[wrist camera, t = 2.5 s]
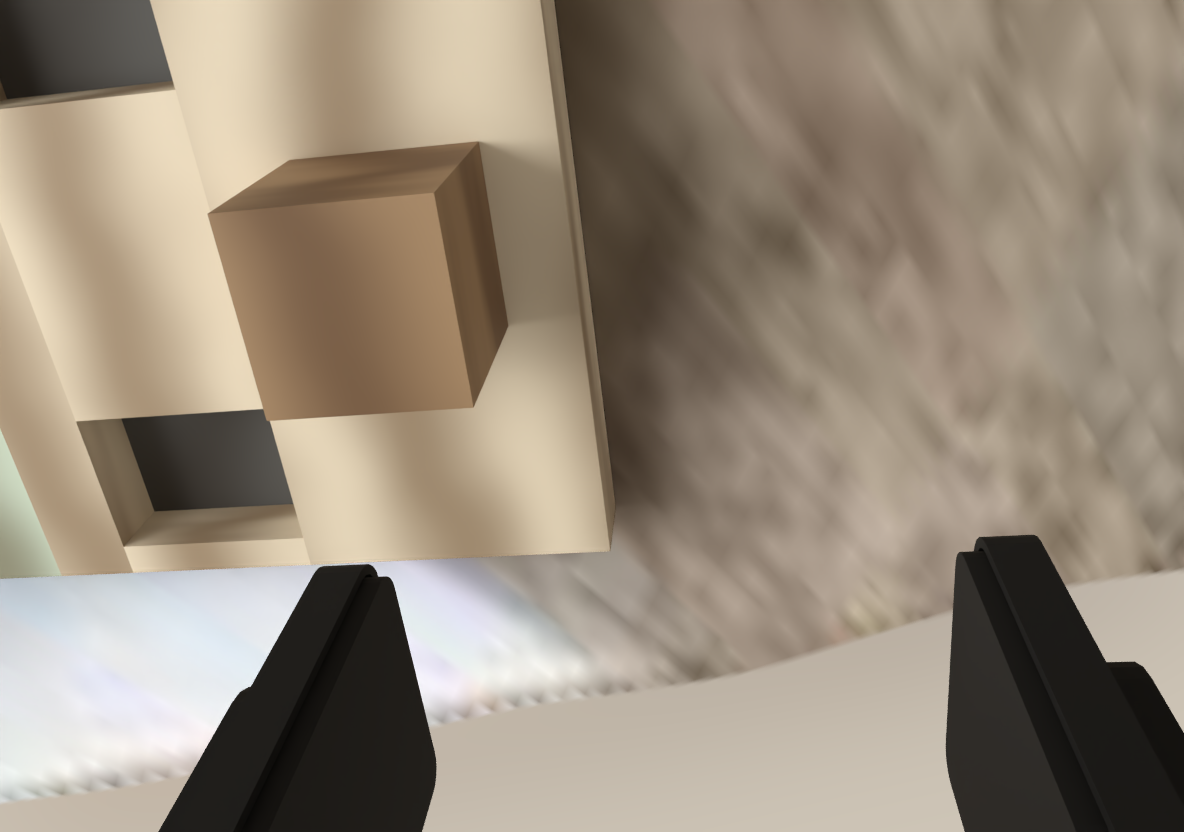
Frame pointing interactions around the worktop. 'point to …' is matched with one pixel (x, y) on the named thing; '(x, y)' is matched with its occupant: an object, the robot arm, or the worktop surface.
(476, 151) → the walnut block
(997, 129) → the worktop surface
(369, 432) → the trap deck
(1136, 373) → the worktop surface
